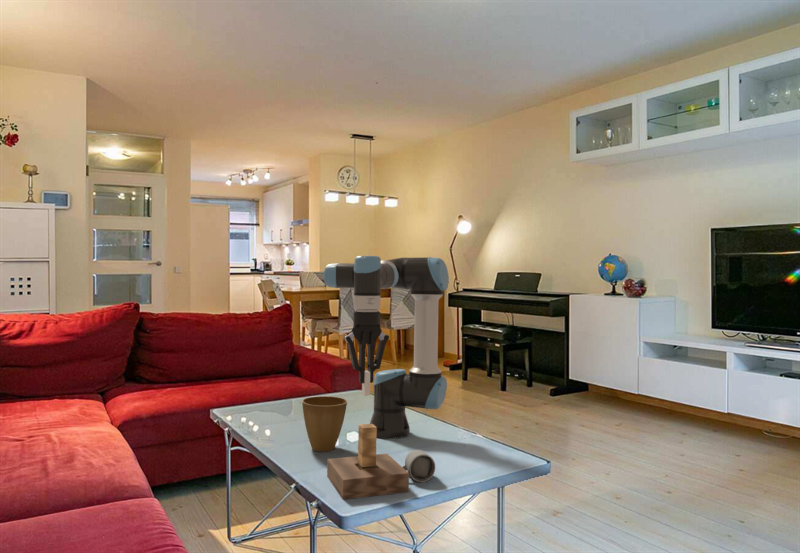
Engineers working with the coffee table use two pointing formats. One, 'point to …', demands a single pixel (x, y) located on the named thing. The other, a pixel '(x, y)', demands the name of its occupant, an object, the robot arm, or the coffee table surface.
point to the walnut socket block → (367, 477)
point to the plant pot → (323, 420)
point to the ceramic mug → (419, 466)
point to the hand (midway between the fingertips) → (366, 394)
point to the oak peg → (367, 446)
